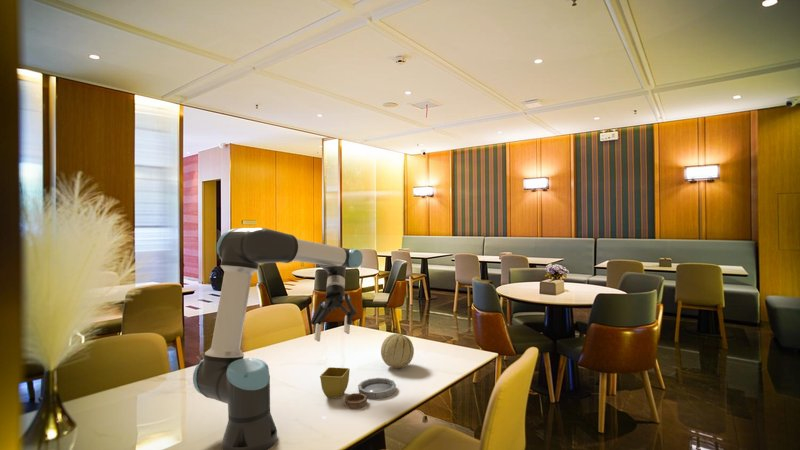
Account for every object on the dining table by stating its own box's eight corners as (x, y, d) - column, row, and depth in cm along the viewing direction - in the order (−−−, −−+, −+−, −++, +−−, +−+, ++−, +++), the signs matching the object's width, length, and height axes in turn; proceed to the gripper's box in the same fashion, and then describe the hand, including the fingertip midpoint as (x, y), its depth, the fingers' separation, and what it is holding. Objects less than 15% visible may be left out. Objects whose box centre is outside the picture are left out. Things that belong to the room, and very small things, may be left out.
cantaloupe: (377, 372, 170) (376, 337, 170) (386, 360, 185) (385, 328, 185) (410, 374, 167) (409, 338, 167) (417, 362, 181) (416, 329, 181)
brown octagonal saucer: (353, 410, 135) (353, 404, 135) (340, 404, 141) (340, 398, 141) (371, 403, 141) (370, 397, 141) (357, 397, 146) (357, 391, 146)
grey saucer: (375, 402, 142) (374, 396, 142) (351, 391, 152) (351, 385, 152) (402, 389, 151) (402, 384, 151) (378, 380, 162) (378, 375, 162)
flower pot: (342, 401, 143) (342, 376, 143) (320, 400, 145) (319, 375, 145) (350, 391, 151) (350, 368, 151) (329, 390, 153) (328, 367, 153)
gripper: (365, 284, 164) (364, 332, 151) (316, 299, 173) (311, 346, 159) (356, 276, 159) (354, 325, 146) (305, 292, 167) (299, 340, 154)
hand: (331, 336), depth 152 cm, fingers open, 13 cm apart
